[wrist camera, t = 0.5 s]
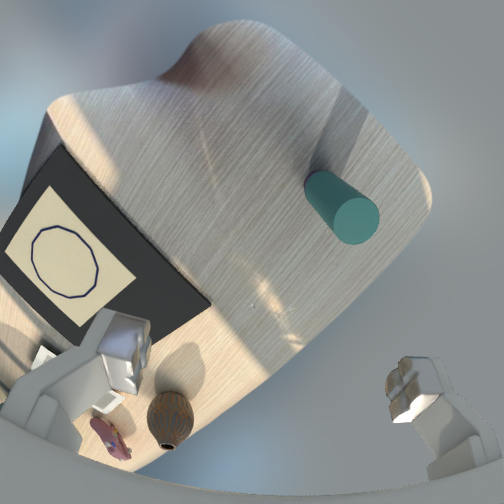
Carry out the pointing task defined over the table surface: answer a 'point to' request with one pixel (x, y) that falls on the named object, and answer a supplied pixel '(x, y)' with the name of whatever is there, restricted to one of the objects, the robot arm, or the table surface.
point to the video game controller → (111, 439)
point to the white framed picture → (102, 405)
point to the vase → (170, 419)
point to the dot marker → (342, 207)
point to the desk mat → (88, 258)
